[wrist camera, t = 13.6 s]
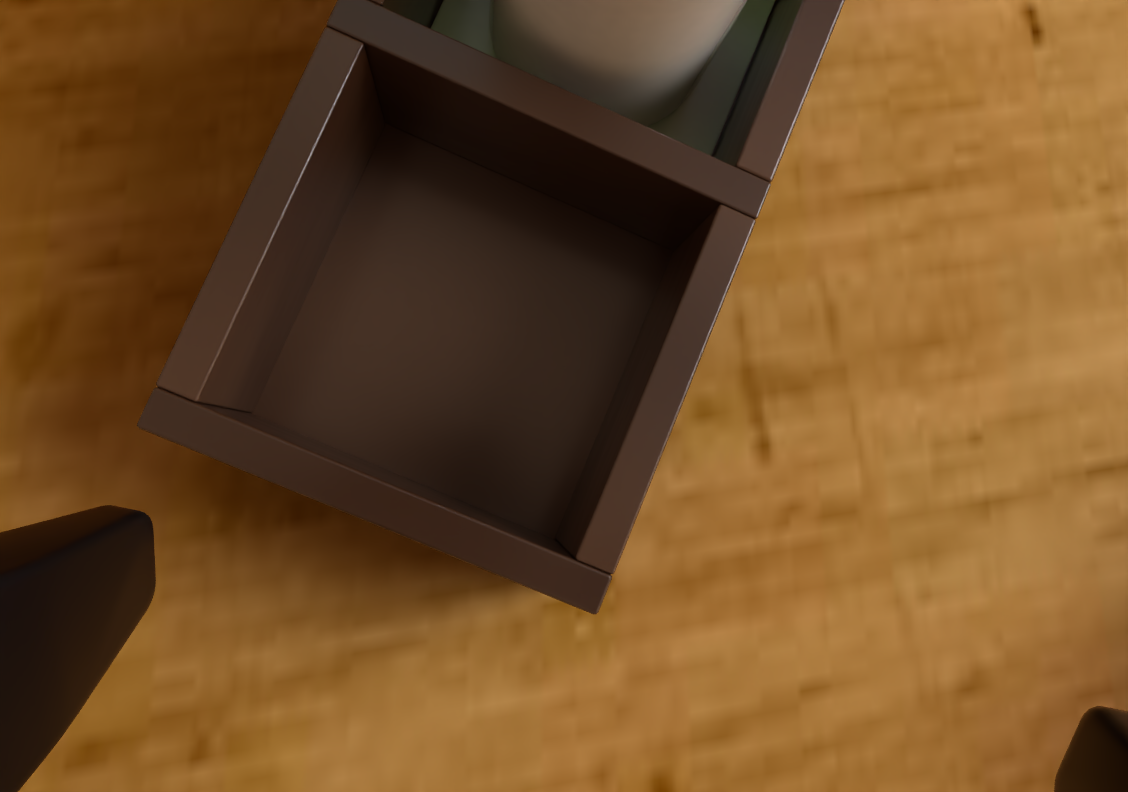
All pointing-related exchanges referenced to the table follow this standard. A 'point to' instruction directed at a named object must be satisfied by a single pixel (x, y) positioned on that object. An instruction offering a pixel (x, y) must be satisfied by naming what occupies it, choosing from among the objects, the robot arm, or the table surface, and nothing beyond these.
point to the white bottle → (615, 47)
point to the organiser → (480, 285)
